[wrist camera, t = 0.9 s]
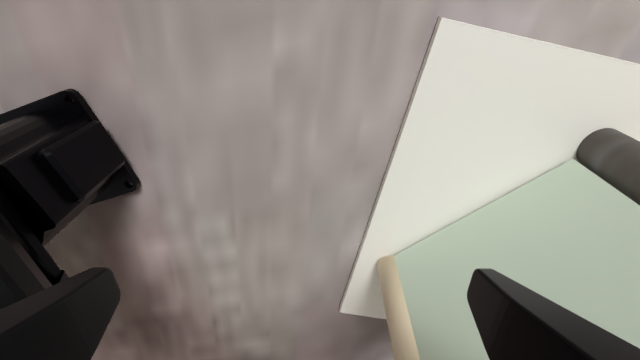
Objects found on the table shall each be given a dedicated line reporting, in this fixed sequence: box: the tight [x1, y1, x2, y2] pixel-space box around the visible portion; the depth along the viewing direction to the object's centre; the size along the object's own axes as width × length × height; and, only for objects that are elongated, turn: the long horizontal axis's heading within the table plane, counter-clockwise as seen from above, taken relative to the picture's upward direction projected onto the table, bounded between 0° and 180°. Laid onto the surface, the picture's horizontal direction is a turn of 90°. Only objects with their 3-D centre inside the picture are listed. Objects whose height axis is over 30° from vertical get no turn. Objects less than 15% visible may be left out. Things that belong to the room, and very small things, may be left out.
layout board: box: [339, 17, 640, 320], centre depth 23 cm, size 27×21×1 cm
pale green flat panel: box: [377, 159, 640, 360], centre depth 17 cm, size 2×13×11 cm, turn 128°
